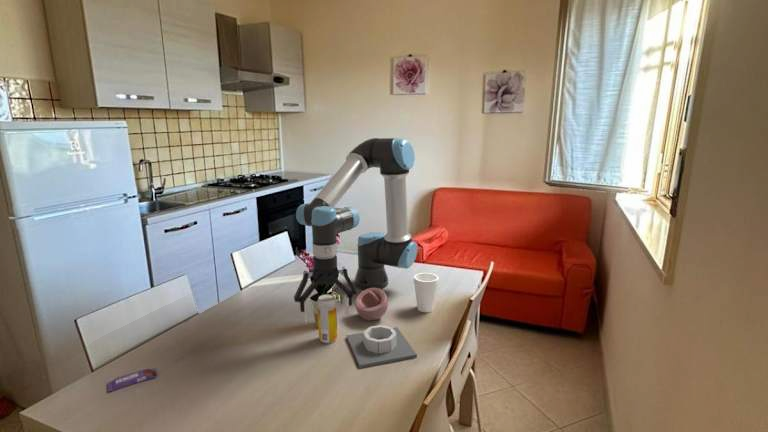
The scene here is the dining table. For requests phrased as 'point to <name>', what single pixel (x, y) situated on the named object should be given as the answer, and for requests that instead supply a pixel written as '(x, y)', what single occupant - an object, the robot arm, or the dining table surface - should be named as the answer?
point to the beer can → (327, 318)
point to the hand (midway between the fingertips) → (326, 317)
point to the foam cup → (425, 291)
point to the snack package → (131, 379)
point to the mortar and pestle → (371, 303)
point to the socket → (380, 346)
